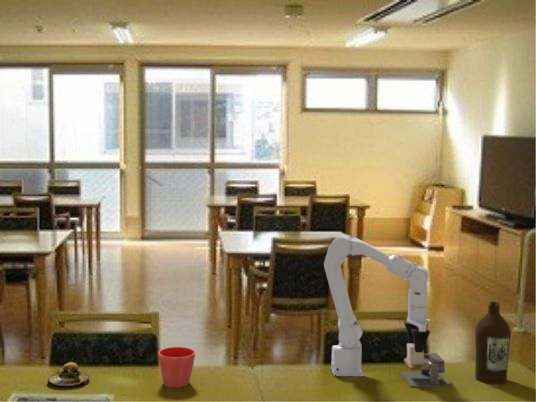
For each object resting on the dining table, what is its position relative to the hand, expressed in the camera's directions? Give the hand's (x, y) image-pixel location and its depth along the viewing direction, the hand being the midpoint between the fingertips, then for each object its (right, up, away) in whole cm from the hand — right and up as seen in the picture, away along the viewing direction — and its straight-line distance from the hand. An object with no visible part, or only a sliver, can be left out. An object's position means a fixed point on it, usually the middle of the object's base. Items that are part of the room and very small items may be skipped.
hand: (415, 348), depth 216 cm
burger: (-105, -9, -9) cm, 106 cm away
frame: (+6, -10, +1) cm, 12 cm away
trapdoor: (+3, -7, +1) cm, 7 cm away
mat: (+1, -10, +1) cm, 10 cm away
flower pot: (-73, -9, -7) cm, 74 cm away
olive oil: (+24, -11, +3) cm, 27 cm away
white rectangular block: (0, -2, 0) cm, 2 cm away
